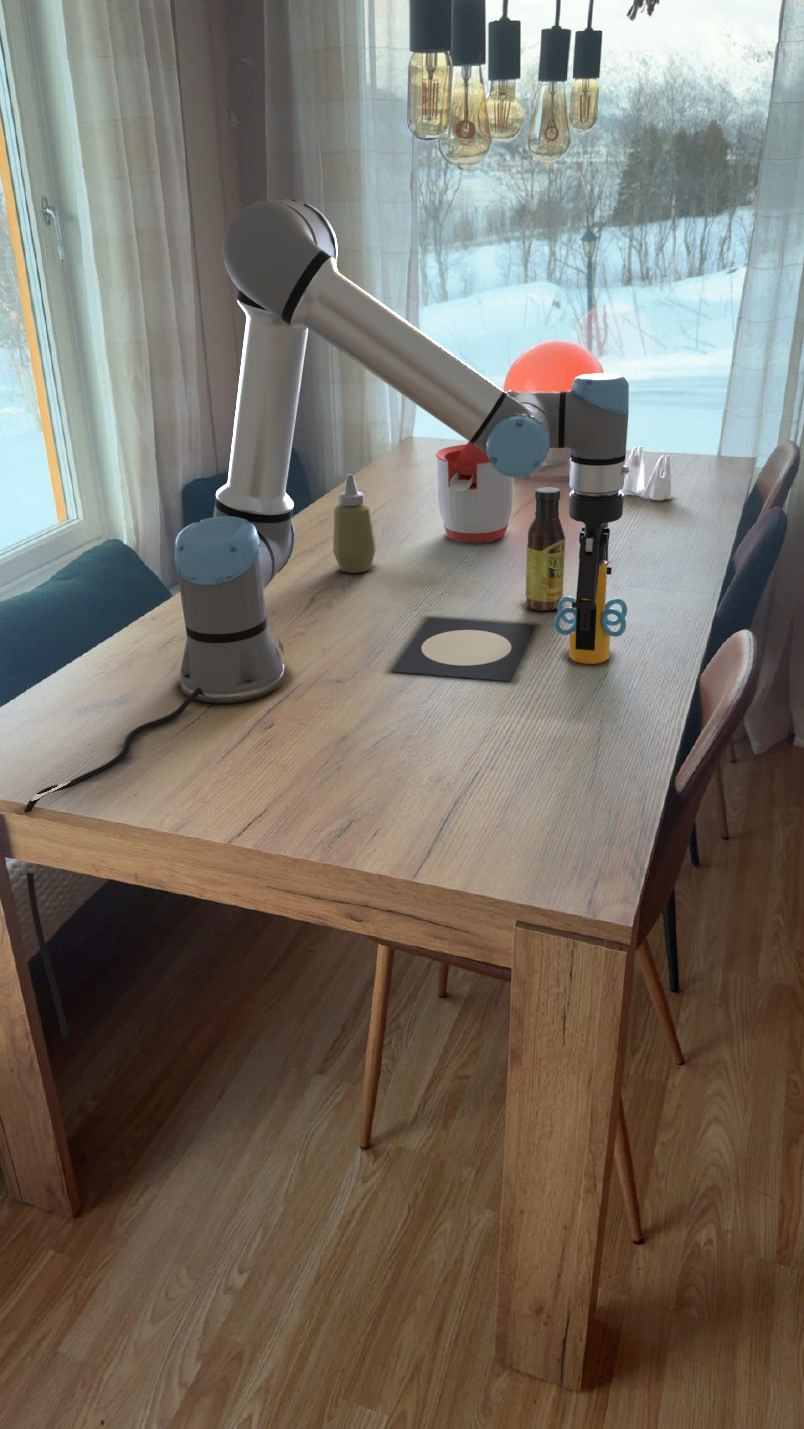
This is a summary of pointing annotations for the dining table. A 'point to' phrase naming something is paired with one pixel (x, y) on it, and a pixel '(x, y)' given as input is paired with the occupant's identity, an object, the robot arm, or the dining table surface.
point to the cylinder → (601, 623)
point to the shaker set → (658, 482)
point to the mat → (466, 649)
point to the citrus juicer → (472, 495)
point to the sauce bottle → (545, 553)
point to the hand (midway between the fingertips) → (590, 632)
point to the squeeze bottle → (353, 530)
